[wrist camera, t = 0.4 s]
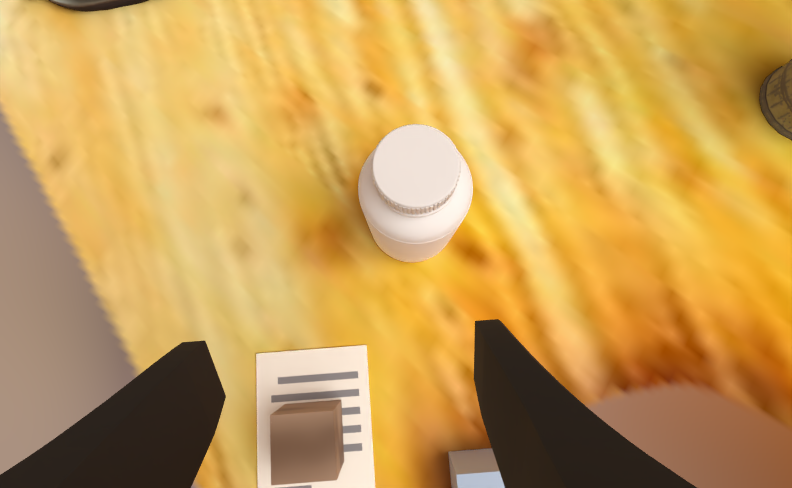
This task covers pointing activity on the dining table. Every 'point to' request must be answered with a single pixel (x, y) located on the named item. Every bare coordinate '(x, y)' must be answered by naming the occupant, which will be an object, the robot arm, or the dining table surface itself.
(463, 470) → the slate cube
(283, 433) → the walnut block
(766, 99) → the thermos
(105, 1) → the salad plate
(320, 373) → the letter
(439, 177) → the pill bottle
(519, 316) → the dining table surface
